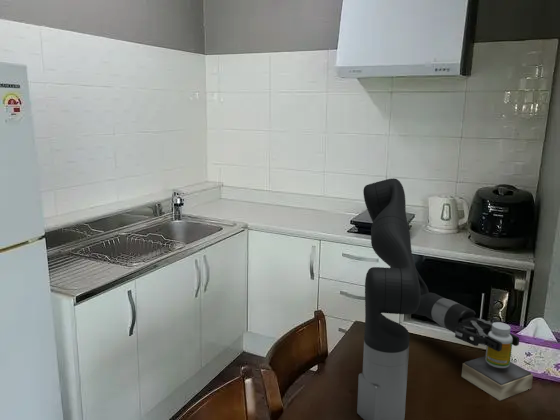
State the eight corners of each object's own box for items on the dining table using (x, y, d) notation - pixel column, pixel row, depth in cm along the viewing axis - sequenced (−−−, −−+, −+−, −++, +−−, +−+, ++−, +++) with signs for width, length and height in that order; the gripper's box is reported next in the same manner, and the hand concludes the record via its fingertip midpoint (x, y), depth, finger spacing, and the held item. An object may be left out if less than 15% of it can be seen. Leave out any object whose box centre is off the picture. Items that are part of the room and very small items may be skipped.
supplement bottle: (512, 370, 107) (517, 332, 105) (488, 367, 108) (492, 329, 106) (506, 358, 112) (510, 321, 110) (482, 355, 113) (486, 319, 111)
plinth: (499, 400, 104) (501, 384, 103) (461, 376, 113) (462, 361, 113) (531, 388, 108) (533, 373, 108) (492, 366, 118) (493, 352, 117)
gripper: (434, 308, 117) (490, 336, 102) (473, 298, 124) (531, 324, 109) (432, 334, 119) (486, 366, 104) (471, 324, 125) (528, 352, 110)
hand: (509, 344), depth 106 cm, fingers closed on supplement bottle, 5 cm apart
